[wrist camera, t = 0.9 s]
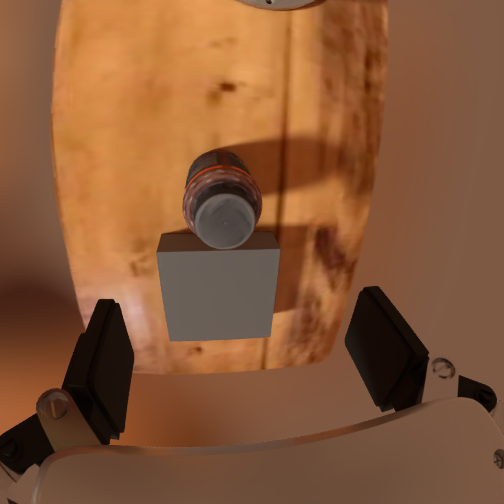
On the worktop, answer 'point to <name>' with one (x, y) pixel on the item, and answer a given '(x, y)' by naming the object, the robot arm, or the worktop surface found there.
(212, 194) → the supplement bottle
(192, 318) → the pedestal
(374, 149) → the worktop surface
